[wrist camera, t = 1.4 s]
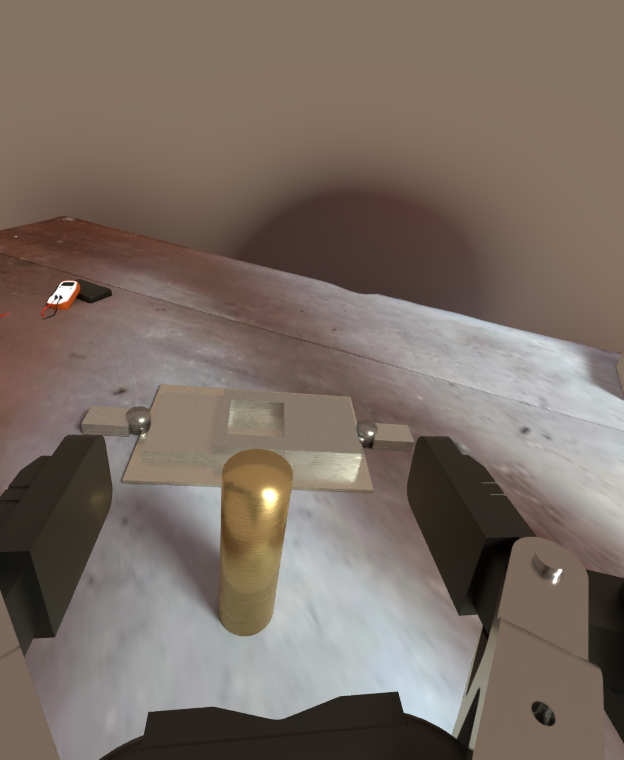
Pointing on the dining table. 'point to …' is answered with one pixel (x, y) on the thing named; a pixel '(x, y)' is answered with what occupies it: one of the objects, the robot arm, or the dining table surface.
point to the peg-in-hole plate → (247, 436)
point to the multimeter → (75, 294)
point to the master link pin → (252, 537)
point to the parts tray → (621, 371)
